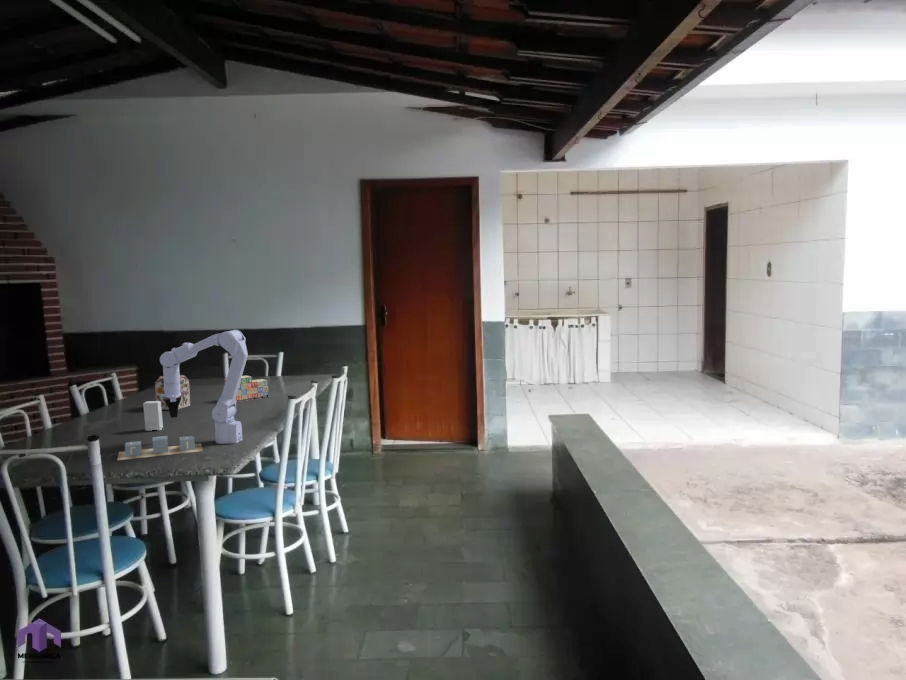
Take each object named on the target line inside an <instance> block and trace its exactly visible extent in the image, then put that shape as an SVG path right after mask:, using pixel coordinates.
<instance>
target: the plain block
mask: <svg viewBox="0 0 906 680" xmlns="http://www.w3.org/2000/svg"><path fill="white" fill-rule="evenodd" d="M168 447H169V438H168V435H162V436H153V437H152V448H153V454H157V453H166V452H168Z"/></svg>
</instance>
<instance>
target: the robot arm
mask: <svg viewBox="0 0 906 680" xmlns="http://www.w3.org/2000/svg"><path fill="white" fill-rule="evenodd" d="M246 339H247V338H246V337H245V336H244V334H243V333H242V331H240V330H239V329H231V330H228V331H223V332H221V333H215V334H212V335H210V336H209V337H206V338H204V339H202V340H199V341H197V342H196V343H191V342H183V343H182V344H181V346H179V347H173V348H171V351H164V352H163V353H162V354H161V355H160V357H159V363H160V364H161V366H162V372H163V375H162V376H164V393H165V394H161V396H162V397H163V396H164V397H167V398H170V399H165V402H166V404H167V406H168V408H169V410H168V412H169V415H170V418H171V419H172V418H177V417H178V412H179V410H178V407H179V404H180V401H181V398H180V397H179V396H181V391H180V375H181V374H180V365H181V363H183V362H185V361H188V360H190V359H192V358H195V357H197V355H198V352H201V351H203V350H205V349H207V348H210V347H212V346H216V347H219V346H221V347H222V348H223V349H224V350H225V351H226V352H228V353H229V355H230V356H231V358H232V359H231V361H230V365H229V368H228V372H227V375H226V382H225V381H224V386H223V389H222V392H221V396H220V398H219V399H218V400H217V402H216V405H215V407H213V408H212V410H211V417H212V420H214V431H215V432H214V433H215V435H214V436H215V443H216V444H220V445H223V444H238V443H239V442H241V441H243V426H242V422H241V421H239V420H235V415H236V413H237V404H238V402H237V401H236V394H237V391H238V387H239V384H240V381H241V377H242V376H243V374H244V371H245V366H246V363H247V360H248V356H249V355H248V349H247V345H246ZM177 397H178V398H177Z"/></svg>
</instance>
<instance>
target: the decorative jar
mask: <svg viewBox="0 0 906 680" xmlns="http://www.w3.org/2000/svg"><path fill="white" fill-rule="evenodd" d="M154 384H155V385H154V387H155V390H154V392H155V401H161V410H162V411H169V408H168V406H167V404H166V402H165V399H170V398H167V397H164V396H163V397H162V396H161V394H165V393H164V375H161V376H159V377H158V378H157V380H156V381H155V382H154ZM180 391H181V396H179V397H180V398H181V401H180V404H179V407H178V411H179V410H182V408H183V409H185V408H187V407H190V406H191V395H190V394H191V393H190V392H191V390H190V379H188V378H187V376H185V375H184V374H180ZM177 398H178V397H177Z"/></svg>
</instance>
